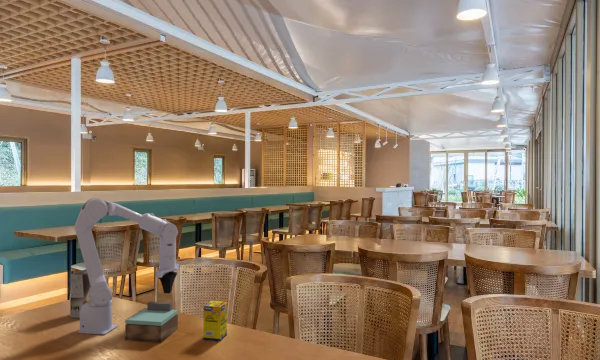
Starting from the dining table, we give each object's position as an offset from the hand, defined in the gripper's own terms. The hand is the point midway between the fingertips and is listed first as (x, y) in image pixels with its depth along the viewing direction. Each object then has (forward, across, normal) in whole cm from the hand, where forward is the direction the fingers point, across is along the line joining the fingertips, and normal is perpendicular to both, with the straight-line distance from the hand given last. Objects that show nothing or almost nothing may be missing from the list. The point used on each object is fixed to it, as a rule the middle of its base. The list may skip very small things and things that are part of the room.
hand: (167, 292), depth 152 cm
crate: (+9, -15, -2) cm, 18 cm away
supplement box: (+10, -14, -23) cm, 29 cm away
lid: (+4, -15, -2) cm, 16 cm away
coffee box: (+10, 0, +32) cm, 33 cm away
